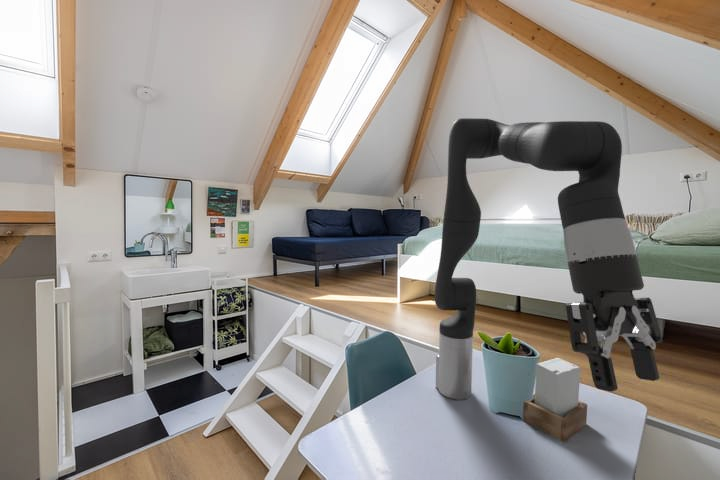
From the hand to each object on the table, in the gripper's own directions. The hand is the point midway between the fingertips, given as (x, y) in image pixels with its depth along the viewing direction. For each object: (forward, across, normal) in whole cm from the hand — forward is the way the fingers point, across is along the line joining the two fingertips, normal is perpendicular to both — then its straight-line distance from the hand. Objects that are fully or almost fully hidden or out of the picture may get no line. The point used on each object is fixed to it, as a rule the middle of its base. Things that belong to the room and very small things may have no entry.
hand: (628, 384), depth 39 cm
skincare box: (+19, -28, -35) cm, 49 cm away
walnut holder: (+19, -28, -35) cm, 49 cm away
